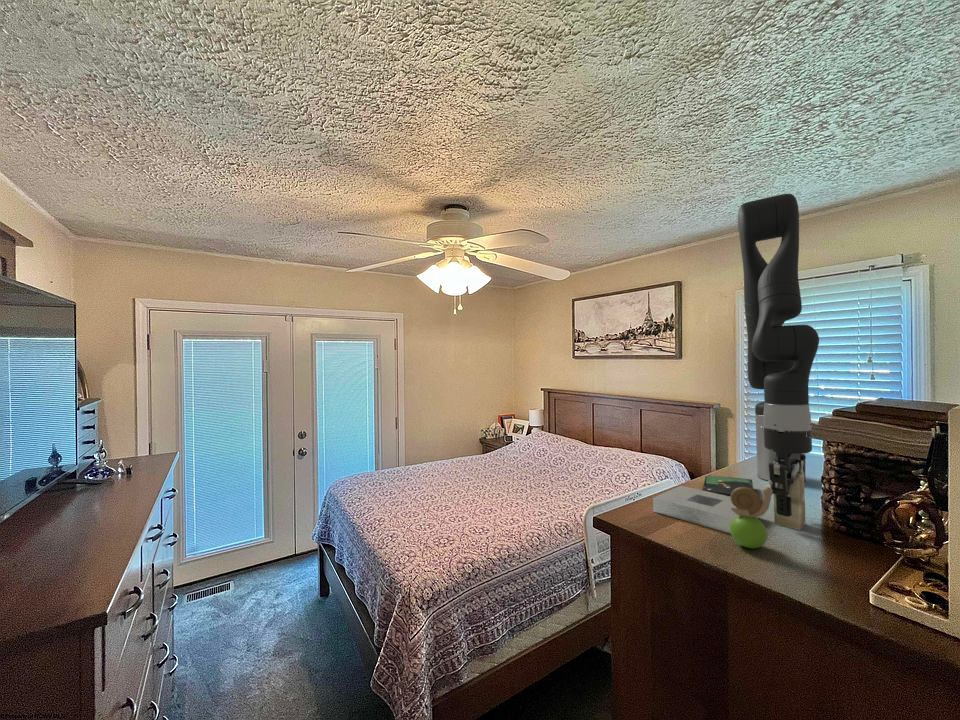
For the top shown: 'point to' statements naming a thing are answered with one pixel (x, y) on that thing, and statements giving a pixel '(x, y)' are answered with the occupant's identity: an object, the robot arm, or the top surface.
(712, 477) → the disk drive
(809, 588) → the top surface
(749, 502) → the snail figurine
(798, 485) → the birch peg
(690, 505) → the white flat block
